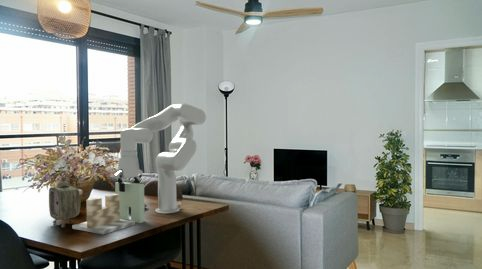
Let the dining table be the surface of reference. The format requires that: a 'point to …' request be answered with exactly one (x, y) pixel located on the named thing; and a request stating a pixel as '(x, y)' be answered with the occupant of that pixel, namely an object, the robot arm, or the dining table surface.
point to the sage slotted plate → (131, 201)
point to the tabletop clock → (64, 201)
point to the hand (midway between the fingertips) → (129, 190)
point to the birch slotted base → (104, 227)
